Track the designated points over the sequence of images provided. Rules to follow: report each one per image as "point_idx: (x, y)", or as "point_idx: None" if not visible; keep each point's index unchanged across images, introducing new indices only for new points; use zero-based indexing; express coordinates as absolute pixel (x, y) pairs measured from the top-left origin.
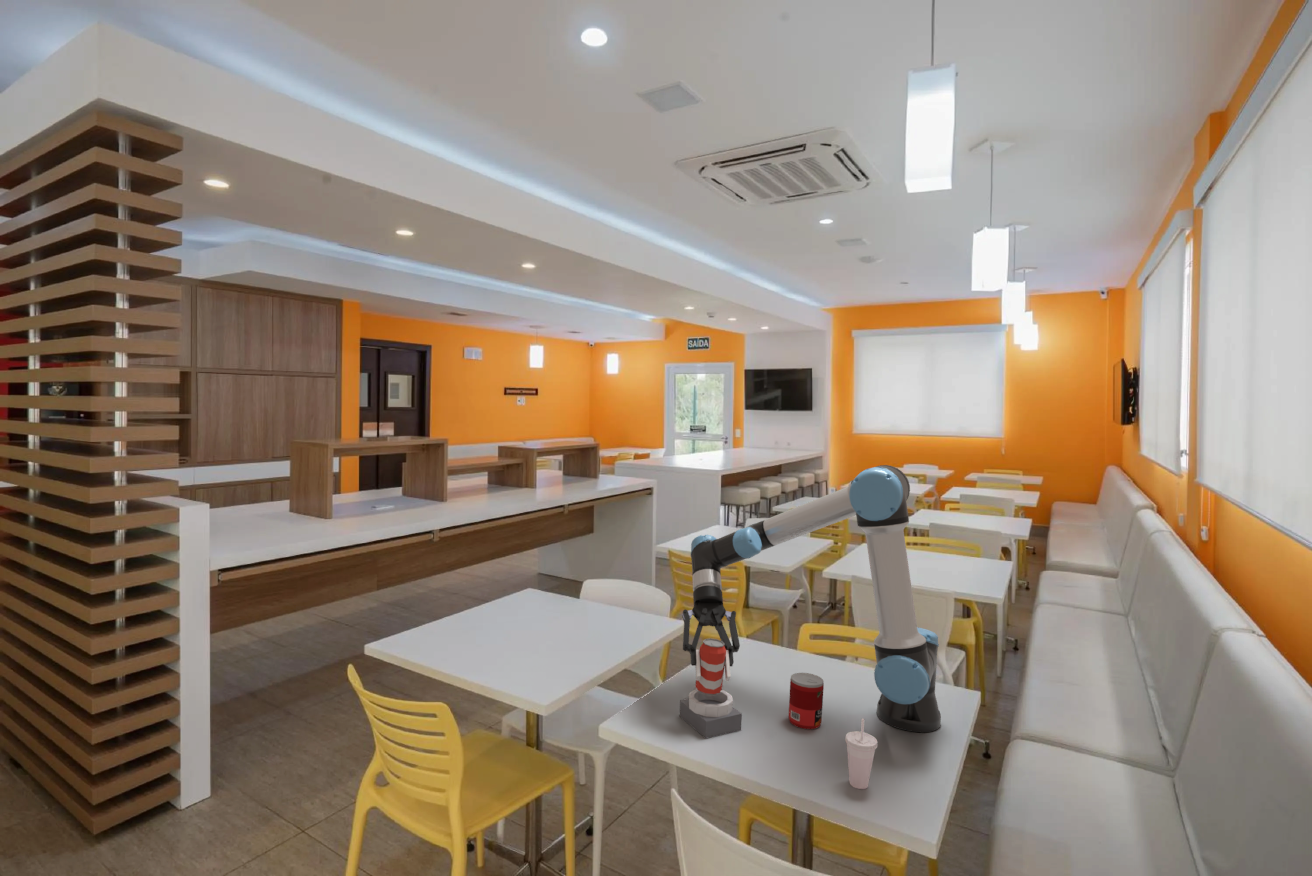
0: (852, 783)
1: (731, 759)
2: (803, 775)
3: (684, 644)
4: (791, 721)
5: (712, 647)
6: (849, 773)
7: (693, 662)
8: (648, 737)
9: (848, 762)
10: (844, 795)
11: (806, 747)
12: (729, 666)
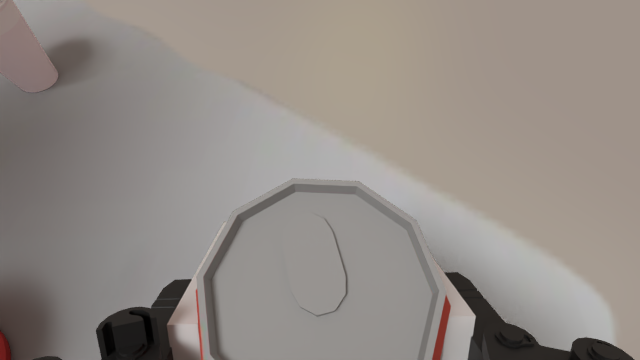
0: (54, 68)
1: (279, 153)
2: (138, 103)
3: (620, 354)
4: (7, 357)
5: (341, 189)
6: (45, 61)
7: (452, 275)
8: (489, 246)
9: (32, 44)
10: (93, 52)
11: (59, 210)
12: (210, 248)
